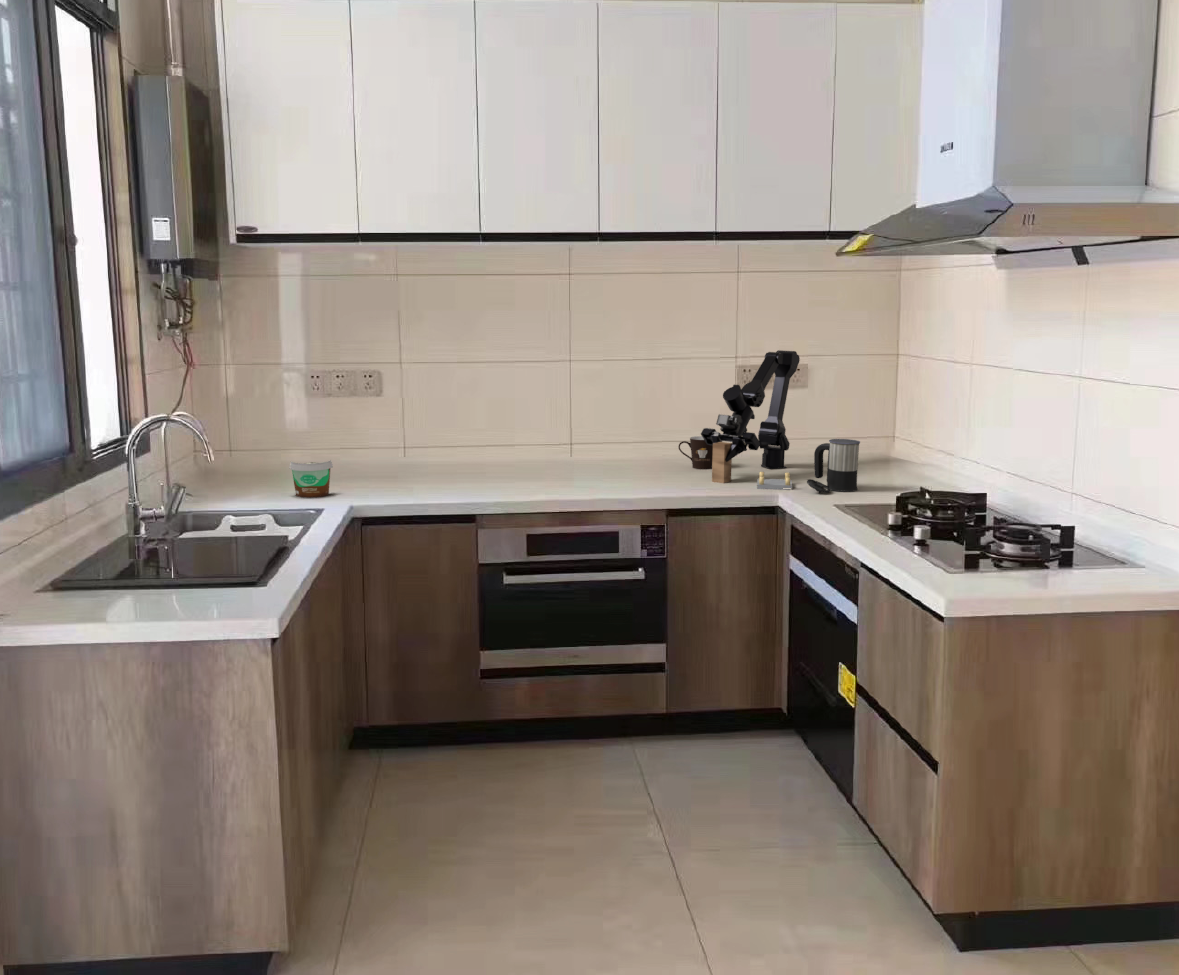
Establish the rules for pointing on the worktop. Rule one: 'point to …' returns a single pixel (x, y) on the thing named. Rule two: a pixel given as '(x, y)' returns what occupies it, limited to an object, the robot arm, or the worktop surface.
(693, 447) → the coffee mug
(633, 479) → the worktop surface
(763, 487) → the peg stand
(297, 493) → the food container
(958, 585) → the worktop surface
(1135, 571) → the worktop surface
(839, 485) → the milk frother
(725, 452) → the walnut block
